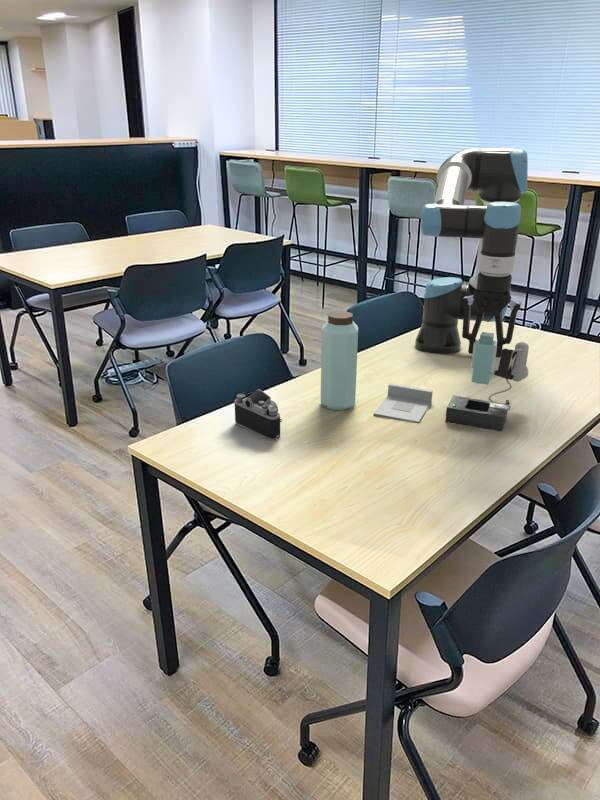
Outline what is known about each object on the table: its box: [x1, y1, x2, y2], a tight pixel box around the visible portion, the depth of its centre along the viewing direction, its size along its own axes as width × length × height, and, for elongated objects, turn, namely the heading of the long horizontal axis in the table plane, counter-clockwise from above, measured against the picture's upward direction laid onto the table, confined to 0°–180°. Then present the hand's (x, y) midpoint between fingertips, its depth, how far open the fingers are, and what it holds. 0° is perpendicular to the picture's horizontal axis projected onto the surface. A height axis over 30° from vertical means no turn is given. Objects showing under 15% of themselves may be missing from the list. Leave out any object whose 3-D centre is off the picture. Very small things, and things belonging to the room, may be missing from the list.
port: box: [444, 395, 512, 432], centre depth 160 cm, size 8×15×5 cm, turn 66°
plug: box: [471, 331, 497, 385], centre depth 154 cm, size 4×4×12 cm
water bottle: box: [320, 310, 359, 411], centre depth 166 cm, size 10×10×25 cm
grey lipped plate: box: [373, 383, 433, 424], centre depth 167 cm, size 14×12×4 cm
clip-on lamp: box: [488, 341, 530, 405], centre depth 165 cm, size 12×6×18 cm, turn 135°
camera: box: [234, 388, 283, 441], centre depth 157 cm, size 16×8×10 cm, turn 45°
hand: (482, 367), depth 155 cm, fingers closed on plug, 4 cm apart
